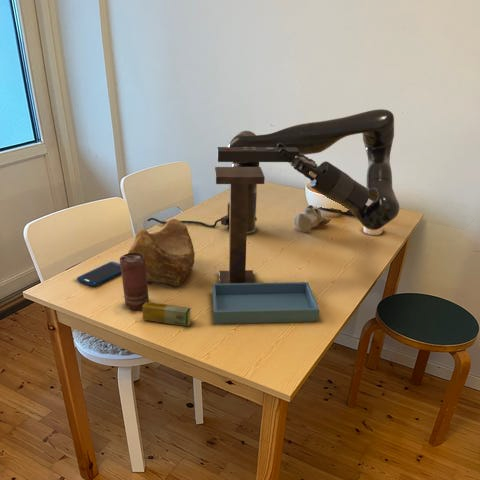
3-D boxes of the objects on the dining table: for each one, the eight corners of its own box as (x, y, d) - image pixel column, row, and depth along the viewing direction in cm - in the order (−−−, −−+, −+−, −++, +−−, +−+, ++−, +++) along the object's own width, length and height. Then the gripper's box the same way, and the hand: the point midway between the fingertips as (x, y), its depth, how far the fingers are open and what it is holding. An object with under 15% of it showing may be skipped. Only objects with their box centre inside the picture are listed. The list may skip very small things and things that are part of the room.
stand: (216, 291, 134) (216, 177, 117) (215, 275, 143) (214, 166, 125) (259, 290, 135) (264, 177, 118) (255, 274, 144) (260, 166, 126)
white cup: (384, 229, 176) (389, 202, 170) (382, 237, 170) (387, 209, 164) (362, 226, 178) (367, 199, 172) (360, 233, 172) (364, 206, 166)
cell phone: (76, 280, 138) (75, 277, 137) (112, 263, 148) (112, 260, 147) (93, 287, 134) (93, 285, 134) (129, 269, 144) (129, 267, 144)
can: (126, 299, 130) (120, 252, 122) (149, 298, 130) (145, 251, 123) (123, 311, 125) (117, 262, 117) (148, 310, 125) (143, 262, 117)
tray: (214, 323, 121) (213, 312, 119) (212, 294, 133) (212, 283, 131) (318, 321, 123) (319, 309, 121) (306, 292, 135) (308, 281, 133)
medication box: (191, 321, 121) (191, 307, 119) (188, 326, 119) (188, 312, 117) (145, 315, 123) (145, 301, 121) (142, 319, 120) (141, 305, 119)
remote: (218, 162, 118) (218, 150, 116) (217, 157, 121) (217, 145, 120) (298, 162, 119) (299, 150, 118) (295, 157, 123) (296, 146, 121)
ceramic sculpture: (288, 205, 169) (309, 197, 179) (285, 229, 173) (306, 220, 184) (314, 213, 163) (335, 204, 174) (311, 237, 168) (331, 227, 178)
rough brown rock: (165, 304, 129) (167, 254, 121) (119, 283, 136) (117, 234, 127) (213, 273, 147) (217, 228, 139) (169, 256, 153) (171, 211, 145)
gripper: (334, 162, 129) (282, 129, 123) (348, 178, 117) (291, 141, 112) (318, 186, 133) (266, 154, 127) (330, 204, 121) (273, 170, 115)
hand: (278, 149), depth 119 cm, fingers closed on remote, 4 cm apart
